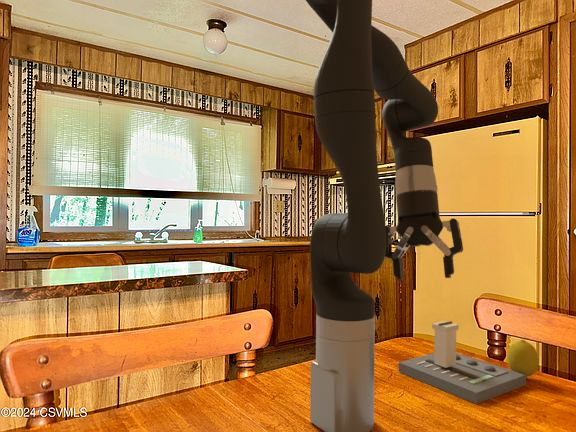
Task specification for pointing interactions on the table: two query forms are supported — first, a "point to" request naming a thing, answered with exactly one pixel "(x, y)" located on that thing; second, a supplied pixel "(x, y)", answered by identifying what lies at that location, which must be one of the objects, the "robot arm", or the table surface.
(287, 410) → the table surface
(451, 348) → the fader knob
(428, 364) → the console
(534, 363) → the lemon
